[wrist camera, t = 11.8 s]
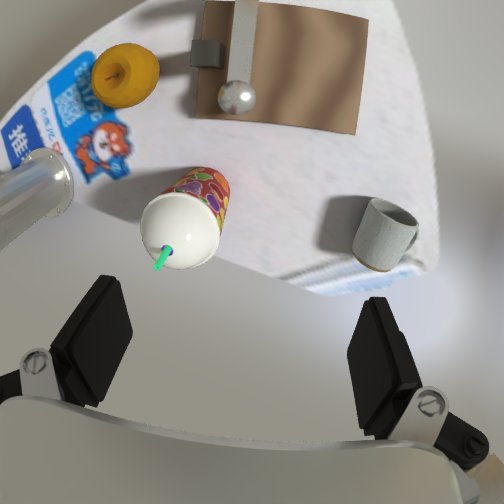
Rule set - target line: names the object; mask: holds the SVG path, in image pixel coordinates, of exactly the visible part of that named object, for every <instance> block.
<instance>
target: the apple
mask: <svg viewBox="0 0 504 504" xmlns="http://www.w3.org/2000/svg"><path fill="white" fill-rule="evenodd" d="M159 73H160V66H159V62H158V60H157V58H156V56H155V55H154V54H153V53H152V52H151V51H149V50H148V49H146V48H144V47H142V46H140V45H138V44H132V43H124V44H119V45H115V46H113V47H111V48H109V49H107V50H106V51H105V52H104V53H102V54H101V55H100V56H99V58H98V59H97V60H96V62H95V64H94V66H93V68H92V76H91V86H92V90H93V93H94V95H95V96H96V97H97V98H98V99H99V100H100V101H101V102H102V103H104V104H105V105H106V106H109V107H112V108H115V109H118V108H128V107H132V106H134V105H137V104H139V103H141V102H142V101H143V100H145V99H146V98H147V97H148V96H149V95H150V94H151V92H152V91H153V90H154V89H155V87H156V84H157V82H158V78H159Z"/></svg>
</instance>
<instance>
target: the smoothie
mask: <svg viewBox="0 0 504 504" xmlns="http://www.w3.org/2000/svg"><path fill="white" fill-rule="evenodd" d="M229 197H230V189H229V185H228V182H227V181H226V179H225V178H224V176H223V175H222V174H220V173H219V172H218V171H216V170H214V169H211V168H204V167H201V168H197V169H194V170H192V171H191V172H189V173H188V174H186V175H185V176H184V177H182V178H181V179H180V180H178V181H177V182H176V183H174V184H173V185H172V186H170V187H169V188H168V189H167V190H165V191H164V192H163V193H161V194H160V195H159V196H158V197H156V198H155V199H153V200H151V201H150V202H149V203H148V205H147V206H146V207H145V209H144V210H143V213H142V216H141V220H140V229H141V235H142V241H143V243H144V246H145V248H146V250H147V252H148V253H149V255H150V256H151V257H152V259H154V260H155V261H156V262H155V264H154V269H155V270H157V271H159V270H160V269H161V268H162V266H165V267H167V268H171V269H178V270H180V269H188V268H191V267H197V266H199V265H201V264H203V263H205V262H207V261H208V260H209V259H210V258H211V257H212V256H213V255H214V254H215V252H216V250H217V247H218V245H219V239H220V235H221V231H222V226H223V222H224V218H225V214H226V209H227V205H228V201H229Z"/></svg>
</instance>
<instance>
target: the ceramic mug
mask: <svg viewBox="0 0 504 504" xmlns="http://www.w3.org/2000/svg"><path fill="white" fill-rule="evenodd" d="M418 227H419V224H418V222H417V220H416V219H415V218H414V217H413V216H412V215H411V214H410V213H409V212H407V211H406V210H404V209H403V208H401V207H399V206H398V205H395V204H393V203H391V202H389V201H386V200H383V199H379V198H373V199H371V200H370V201H369V203H368V206H367V208H366V211H365V213H364V216H363V218H362V221H361V223H360V226H359V228H358V230H357V233H356V235H355V238H354V240H353V245H352V251H353V254H354V256H355V257H356V259H357V260H358V261H359V262H360V263H361V264H363V265H364V266H366V267H367V268H369V269H372V270H374V271H378V272H388V271H390V270H392V269H393V268H394V267H395V266H396V265H397V263H398V262H399V260H400V259H401V257H402V255H403V254H404V253H406V252H407V251H408V250H409V249H410V248H411V247H412V246H413V244H414V243H415V241H416V239H417V237H418V234H419V229H418Z"/></svg>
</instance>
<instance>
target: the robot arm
mask: <svg viewBox="0 0 504 504" xmlns="http://www.w3.org/2000/svg"><path fill="white" fill-rule="evenodd" d="M72 196H73V180H72V175H71V172H70V169H69V167H68V165H67V163H66V161H65V160H64V159H63V157H62V156H61V155H60V154H59V153H58V152H56V151H55V150H53V149H51V148H47V147H41V148H38V149H35V150H33V151H32V152H30V153H29V154H28V155H27V157H26V158H25V160H24V162H23V165H21V166H19V167H17V168H15V169H13V170H11V171H9V172H7V173H5V174H4V175H2V176H0V251H1V250H2V249H3V248H4V247H6V246H7V245H8V244H9V243H11V242H12V241H13V240H14V239H15V238H17V237H18V236H19V235H20V234H22V233H23V232H24V231H25V230H27V229H28V228H29V227H30V226H32V225H33V224H34V223H36V222H37V221H38V220H39V219H41V218H42V217H43V216H45V217H56V216H59V215H60V214H62V213H63V212H64V211H66V210H67V208H68V207H69V205H70V203H71V201H72ZM132 334H133V330H132V326H131V323H130V319H129V316H128V312H127V308H126V305H125V301H124V297H123V293H122V289H121V285H120V282H119V281H118V280H116V278H115V277H114V276H108V275H100V276H99V278H98V279H97V280H96V282H95V283H94V284H93V285H92V287H91V288H90V289H89V291H88V292H87V294H86V295H85V296H84V298H83V299H82V300H81V302H80V303H79V304H78V306H77V307H76V309H75V310H74V312H73V313H72V314H71V316H70V317H69V319H68V320H67V321H66V323H65V324H64V326H63V327H62V329H61V330H60V332H59V333H58V335H57V336H56V338H55V339H54V341H53V342H52V344H51V345H50V346H51V348H50V350H49V351H47V350H46V349H43V348H35V349H33V350H30V351H28V352H27V353H26V354H25V355H24V356H23V357H22V359H21V362H20V367H19V368H20V369H18V370H16V371H13V372H11V373H8V374H6V375H3V376H1V377H0V504H504V464H503V463H502V462H501V461H500V460H499V458H498V457H497V456H496V455H495V454H494V453H492V454H490V453H489V443H488V440H487V438H486V436H485V435H484V434H483V433H482V432H481V431H479V430H477V429H476V428H474V427H473V426H471V425H469V424H468V423H466V422H465V421H463V420H461V419H460V418H458V417H457V416H455V415H453V414H452V413H450V412H449V411H448V410H449V402H448V399H447V397H446V396H445V394H444V393H443V392H442V391H440V390H439V389H437V388H435V387H431V386H426V387H423V386H422V382H421V379H420V377H419V374H418V371H417V368H416V365H415V362H414V360H413V357H412V354H411V351H410V349H409V346H408V344H407V341H406V339H405V336H404V334H403V333H402V332H401V331H399V328H398V326H397V323H396V321H395V319H394V316H393V314H392V311H391V309H390V306H389V304H388V301H387V299H386V298H385V297H370V299H369V300H366V301H365V302H364V304H363V308H362V310H361V313H360V316H359V319H358V322H357V325H356V328H355V330H354V333H353V336H352V339H351V341H350V344H349V347H348V350H347V359H348V364H349V369H350V374H351V380H352V386H353V392H354V397H355V404H356V410H357V416H358V423H359V427H360V429H364V435H365V436H371V435H374V437H375V440H364V441H345V442H272V441H255V440H243V439H233V438H224V437H215V436H208V435H201V434H194V433H187V432H182V431H176V430H171V429H166V428H161V427H156V426H151V425H147V424H142V423H138V422H134V421H130V420H126V419H122V418H118V417H115V416H111V415H108V414H104V413H101V412H97V411H93V410H90V409H87V408H84V406H85V404H87V405H90V406H93V407H97V406H98V404H99V402H102V401H103V400H104V398H105V395H106V393H107V391H108V388H109V386H110V384H111V381H112V379H113V377H114V375H115V373H116V371H117V368H118V366H119V364H120V362H121V360H122V357H123V355H124V353H125V351H126V349H127V346H128V345H129V343H130V340H131V338H132Z"/></svg>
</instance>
